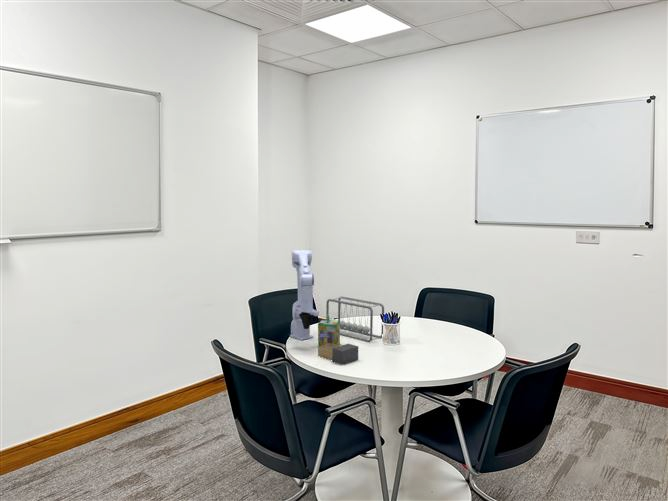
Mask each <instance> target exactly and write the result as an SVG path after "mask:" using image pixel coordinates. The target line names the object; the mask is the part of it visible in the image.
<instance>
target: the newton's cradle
mask: <svg viewBox="0 0 668 501" xmlns="http://www.w3.org/2000/svg"><path fill="white" fill-rule="evenodd" d="M330 302H332V303H337V304H338V305H337V306H338V307H337V310H338V311H337V321H340V330H343V331H347V330H348V332H352V333H356V334H359V335H364V336H369V339H366V338H363V337H359V336H355V335H351V334H346V333H342V332H340V336H342V337H347V338H350V339H353V340H354V339H355V340H358V341H362V342H367V343H370V342H372V341H373V340H376V339H382V338H383V337H382V334H383V325H382V324H381V335H378V334H377V335H376V334H374V333H373V327H374V326H373V319H374V318H373V314H374V311H373V308H374V307H378V306H380V307H381V315H382V314H384V315H385V306H384V304H383V303H379V302H374V301H368V300H364V299H359V298H358V299H357V298H354V297H353V298H352V297H347V296H339V297H336V298H328V299H327V300H326V307H325V308H326V311H325V312H326V316H327V314H328V315H329V314H330V313H329V310H330V309H329V307H330V306H329V305H330V304H329V303H330ZM341 304H343V305H344V307H345V309H344V312H341ZM370 305H371V306H370ZM347 306H350V307H353V306H354V307H357V308H362V311H361V313H363V314H364V317H366V315H365V314H366V313H365V312H364V309H368V312H367V313H368V314H370V322H369V326H368V325H367V322H368V321H369V318H367V321H365V323H364V324H365V326H364V325H363V324H361V321H362V318H363V317H361V320H360V319H358V321H359V324H357V323H356V322H355V321H356V318H357V317H355V319H354V317H352V320H353V323H351V322H350V320H351V317H349V316H348V314H346V315H347V318H348V321H347V322H346V321H344V318H345V316H343V315H342V313H345V312H346V310H348V308H347ZM357 311H358V312H357ZM369 311H370V312H369ZM351 312H352V313H354V312H353V308H351V310H350V311H349V313H350V314H352V313H351ZM356 313H357V314H358V315H360V314H359V313H360V312H359V310H358V309H356ZM341 317H342V320H341ZM329 318H330V317H329ZM329 318H328V320H329ZM325 320H327V318H326V319H325Z"/></svg>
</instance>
